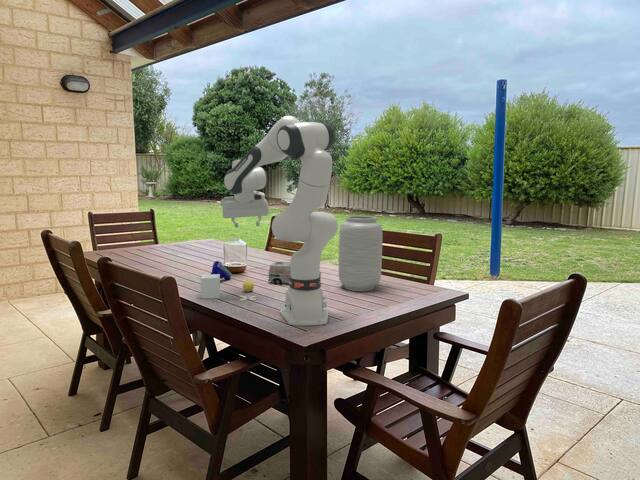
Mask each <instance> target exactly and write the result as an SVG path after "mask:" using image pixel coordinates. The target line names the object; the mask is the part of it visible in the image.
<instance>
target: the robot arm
mask: <svg viewBox="0 0 640 480" xmlns="http://www.w3.org/2000/svg"><path fill="white" fill-rule="evenodd" d="M335 136H336V135H335V131H334V129H333V127H332V125H330V124H329V123H327V122H323V121H316V122H314V121H300V120H299V118H297V117H295V116H293V115H284V116H282V117H281V118H280V119H278V120H277V122H275V123H274V125H273V126H272V127H271V128H270V130H269V131H268V132H267V134H266V135H265V136H264V137H263V138H262V139H261V140H260V142H258V143H257V144H256V145H254V146H253V147H252V148H251V149H249V150H248V151H247V152H246V153H245V154H244V156H243V157H241V158H236V159H234V160H233V161H232V164H231V168H230V169H228V170H227V171H226V173H225V175H224V177H223V185H224V188H225V189H226V190H227V191H228V192H229V193H231V194H232V195H233V196H224V197H223V198H221V200H220V205H221V207H222V218H224V219H231V222H232V224H234V225H233V226H234V228H235V229H236V228H239V223H238V222H236V220H235V219H237V218H250V217H257V219H258V221H255V224H256V225H255V226H256V227H260V222H261V221H262V217H264V216H265V217H266V216H269V214H270V207H269V205H268V201H267V199H266V198H265V196H266V194H265V193H264V192H261V191H259V190H262V189H264V188H266V186H267V184H268V181H269V180H268V179H269V178H268V173H267V171H266V170H265V168H263V166H265V165H269V164H274V163H278V162H281V161H284V159H286V158H287V157H288V156H289V157H290V158H291V160H294V161H297V160H300V163H301V167H300V173H299V178H298V182H297V187H296V191H295V194H294V196H293V199H292V200H291V202H290V204H289V205H288V206H287V207H286V208H285V209H284V210H283V211H281V212H279V213H278V214H276V216H275V217H274V218H273V219H272V223H271V231H272V235H273V237H274V238H275V239H276V240H278V241H282V242H289V243H292V242H293V243H294V242H303V245H302V247H301V248H300V249H299V250H297V251H296V252H294V253H293V254H292V255H291V257H290V261H289V262H290V277H289V283H288V289H287V290H285V293H284V309H280V310H279V314H280V315H281V317H282V318H283V319H284V320H285V321H286V323H287V324H288V325H292V326H304V327H306V326H321V325H325V324H328V321H329V313H330V312H329V311H330V309H328V308H327V307H328V306H327V305H328V302H327V301H325V300H326V296H325V295H324V290H323V289H322V288H321V282H322V281H321V279H320V278H321V277H319V271H320V270H321V269H320V267H321V265H320V264H321V258H322V253H323V251H324V249H325V248H326V246H327V244H328V243H329V242H330V241H331V240H332V239H333V238H334V237H335V236H336V234H337V232H338V229H339V223H338V220H337V218H336V216H335V215H334V214H333V213H331V212H326V211H316V210H318V209H320V208H321V207H322V206H324V205H325V203H326V201H327V198H328V194H329V191H330V190H329V188H330V185H331V179H332V171H333V158H332V156H331V154H330V152H328V150H329V149H331V148H332V147H333V145H334V144H335V141H336V140H335V138H336V137H335Z"/></svg>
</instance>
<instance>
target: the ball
mask: <svg viewBox="0 0 640 480" xmlns="http://www.w3.org/2000/svg"><path fill="white" fill-rule="evenodd" d="M254 287H255V284H254V282H253V281H252V280H245V281H244V282H243V284H242V288H243V289H242V290H244V291H245V292H251V291H253V290H254Z"/></svg>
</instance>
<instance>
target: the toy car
mask: <svg viewBox="0 0 640 480" xmlns="http://www.w3.org/2000/svg"><path fill="white" fill-rule="evenodd" d="M267 273H268V275H267V276H268V279H267V281H268V282H271V283H272V282H273V284H274V285H280V286H281V285H282V284H283V283H287V284H289V277H290V261H275V262H272V263H271V264H270V265H269V269H268V272H267ZM319 277H320V280H321V279H322V272H321V271H320V270H319Z"/></svg>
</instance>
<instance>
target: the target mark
mask: <svg viewBox="0 0 640 480" xmlns="http://www.w3.org/2000/svg"><path fill="white" fill-rule="evenodd" d="M256 298H257V295H252V296H244V295H239V301H240V302H243V301H246V300H250V301H253V302H254V301H257V300H258V299H256Z"/></svg>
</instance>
